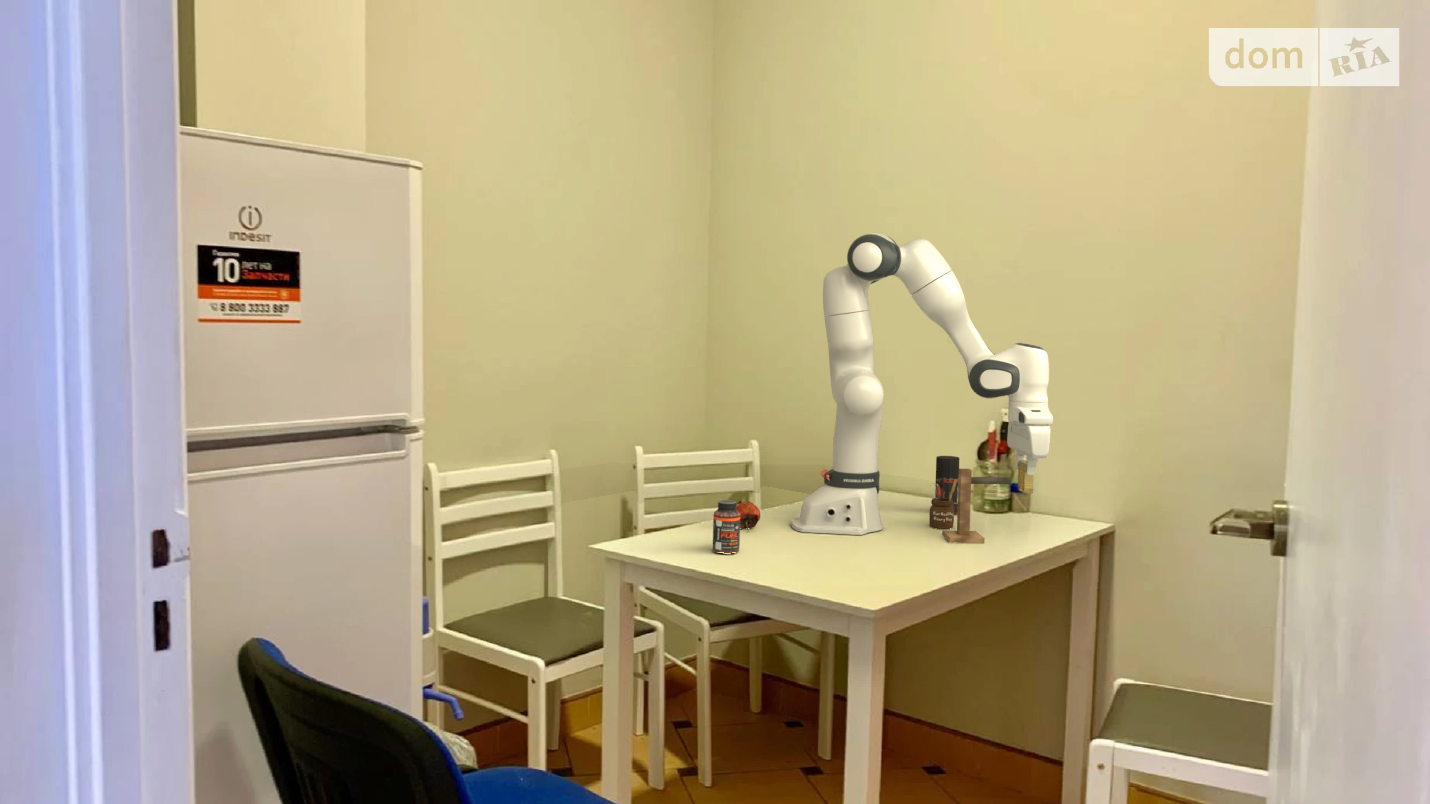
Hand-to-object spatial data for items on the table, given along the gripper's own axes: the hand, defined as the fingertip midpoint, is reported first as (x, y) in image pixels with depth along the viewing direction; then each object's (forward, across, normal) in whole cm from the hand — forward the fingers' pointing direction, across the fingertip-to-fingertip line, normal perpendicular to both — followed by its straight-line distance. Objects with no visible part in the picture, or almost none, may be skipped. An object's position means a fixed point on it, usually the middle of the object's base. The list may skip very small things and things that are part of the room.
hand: (1025, 472), depth 240 cm
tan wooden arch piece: (+5, 0, 0) cm, 5 cm away
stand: (+16, 0, -11) cm, 19 cm away
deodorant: (+16, -30, -11) cm, 36 cm away
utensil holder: (+16, -13, -16) cm, 26 cm away
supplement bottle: (+16, +15, -70) cm, 74 cm away
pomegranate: (+16, -8, -65) cm, 68 cm away
